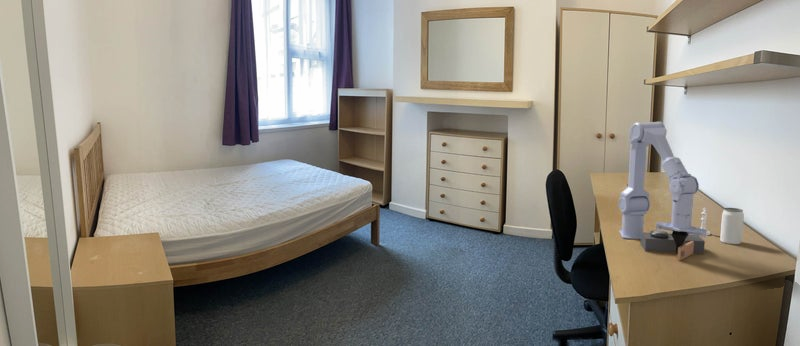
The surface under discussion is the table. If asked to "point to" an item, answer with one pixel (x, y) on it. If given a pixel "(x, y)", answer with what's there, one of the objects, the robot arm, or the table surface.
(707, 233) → the chess piece
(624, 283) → the table surface
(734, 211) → the can
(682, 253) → the side door
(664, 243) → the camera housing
